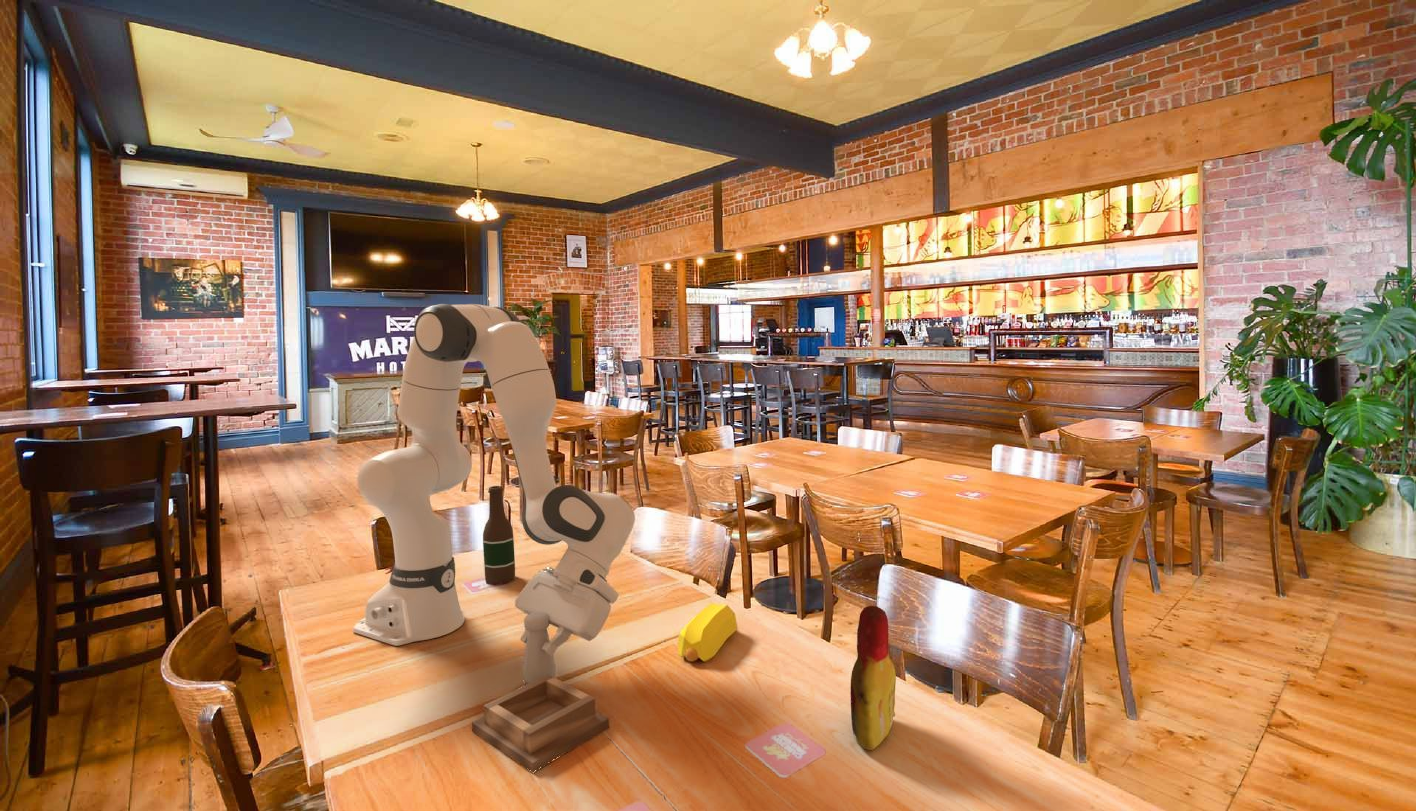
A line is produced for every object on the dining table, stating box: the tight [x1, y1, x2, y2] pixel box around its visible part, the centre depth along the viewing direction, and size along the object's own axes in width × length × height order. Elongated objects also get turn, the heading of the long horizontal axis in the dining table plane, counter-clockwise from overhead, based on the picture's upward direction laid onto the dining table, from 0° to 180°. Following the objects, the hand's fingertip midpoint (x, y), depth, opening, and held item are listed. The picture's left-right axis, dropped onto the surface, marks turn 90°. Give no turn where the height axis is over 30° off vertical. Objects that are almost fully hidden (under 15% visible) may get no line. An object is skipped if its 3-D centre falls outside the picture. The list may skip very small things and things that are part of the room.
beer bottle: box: [482, 485, 516, 586], centre depth 168 cm, size 8×8×24 cm
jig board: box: [471, 675, 610, 773], centre depth 103 cm, size 16×14×4 cm
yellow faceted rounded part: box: [677, 602, 739, 663], centre depth 130 cm, size 18×7×8 cm
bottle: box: [849, 605, 897, 751], centre depth 99 cm, size 12×6×20 cm, turn 152°
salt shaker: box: [521, 611, 557, 685], centre depth 116 cm, size 6×6×13 cm
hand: (535, 647), depth 115 cm, fingers open, 5 cm apart
